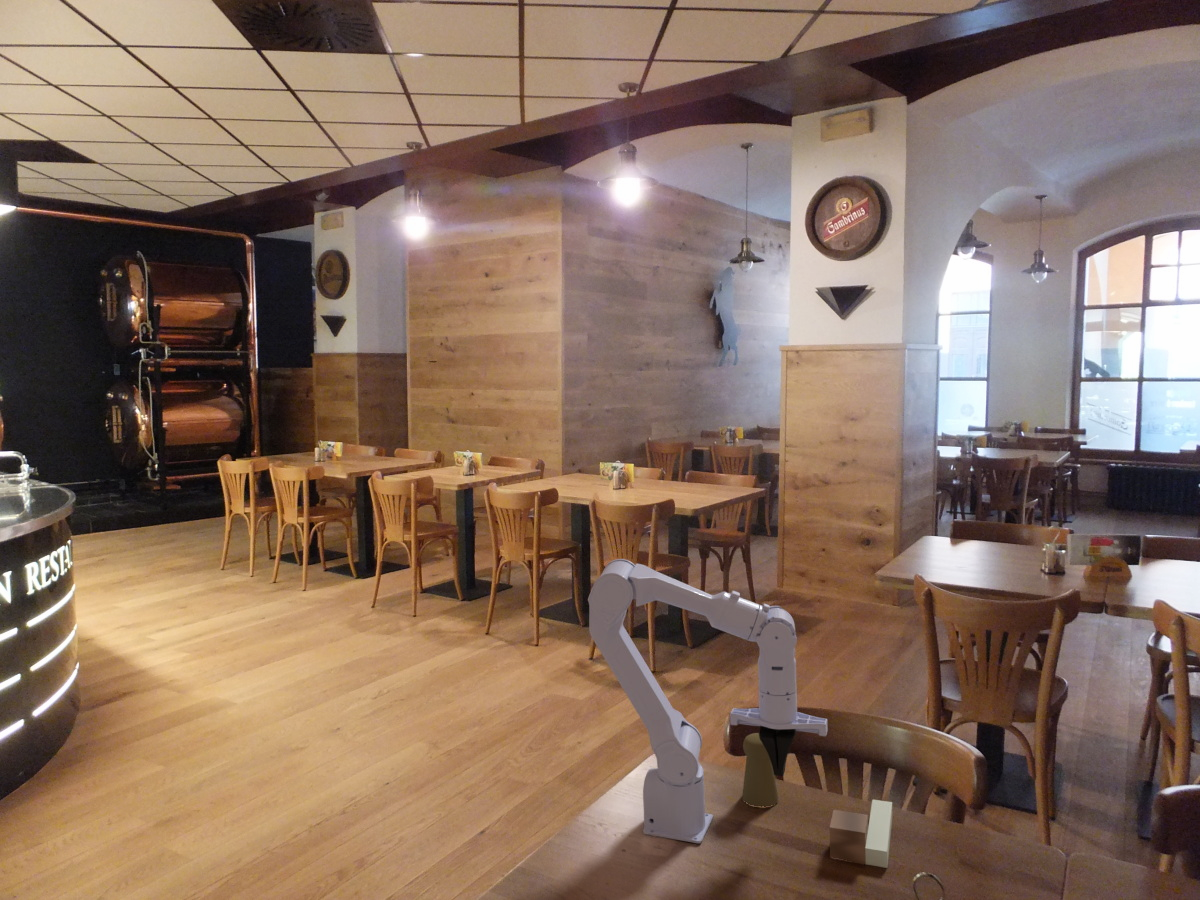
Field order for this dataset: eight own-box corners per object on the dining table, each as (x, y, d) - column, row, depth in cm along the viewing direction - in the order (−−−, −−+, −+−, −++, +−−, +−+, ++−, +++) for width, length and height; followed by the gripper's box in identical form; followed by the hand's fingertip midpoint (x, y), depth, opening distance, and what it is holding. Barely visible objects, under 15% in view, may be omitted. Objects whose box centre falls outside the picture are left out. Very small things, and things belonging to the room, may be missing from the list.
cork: (778, 809, 138) (777, 745, 137) (741, 807, 140) (739, 744, 138) (778, 790, 144) (776, 729, 143) (742, 788, 146) (740, 727, 144)
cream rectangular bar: (865, 864, 123) (865, 848, 123) (872, 814, 136) (872, 799, 135) (887, 868, 122) (887, 851, 121) (892, 817, 135) (892, 802, 134)
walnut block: (830, 859, 125) (829, 827, 124) (834, 840, 129) (833, 809, 129) (865, 865, 123) (865, 832, 122) (868, 846, 127) (867, 814, 127)
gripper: (829, 683, 130) (830, 767, 132) (736, 674, 136) (738, 754, 137) (823, 701, 124) (825, 789, 125) (726, 691, 129) (728, 775, 131)
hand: (779, 772), depth 131 cm, fingers closed
